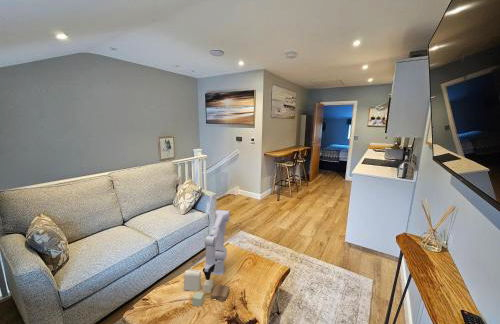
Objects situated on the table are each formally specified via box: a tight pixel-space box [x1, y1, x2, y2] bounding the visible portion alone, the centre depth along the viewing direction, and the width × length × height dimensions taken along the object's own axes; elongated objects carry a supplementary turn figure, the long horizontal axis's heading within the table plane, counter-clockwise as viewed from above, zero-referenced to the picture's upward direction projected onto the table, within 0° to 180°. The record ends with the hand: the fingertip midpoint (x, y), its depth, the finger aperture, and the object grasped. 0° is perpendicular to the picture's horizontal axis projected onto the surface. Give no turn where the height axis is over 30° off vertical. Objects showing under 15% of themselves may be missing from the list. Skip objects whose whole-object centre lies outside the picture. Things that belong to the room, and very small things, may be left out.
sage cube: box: [191, 291, 205, 307], centre depth 116 cm, size 5×5×5 cm
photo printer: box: [183, 269, 202, 292], centre depth 127 cm, size 10×4×12 cm, turn 90°
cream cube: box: [202, 279, 214, 294], centre depth 127 cm, size 5×5×5 cm
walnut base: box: [210, 284, 231, 302], centre depth 123 cm, size 9×9×3 cm
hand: (209, 275), depth 126 cm, fingers open, 7 cm apart
